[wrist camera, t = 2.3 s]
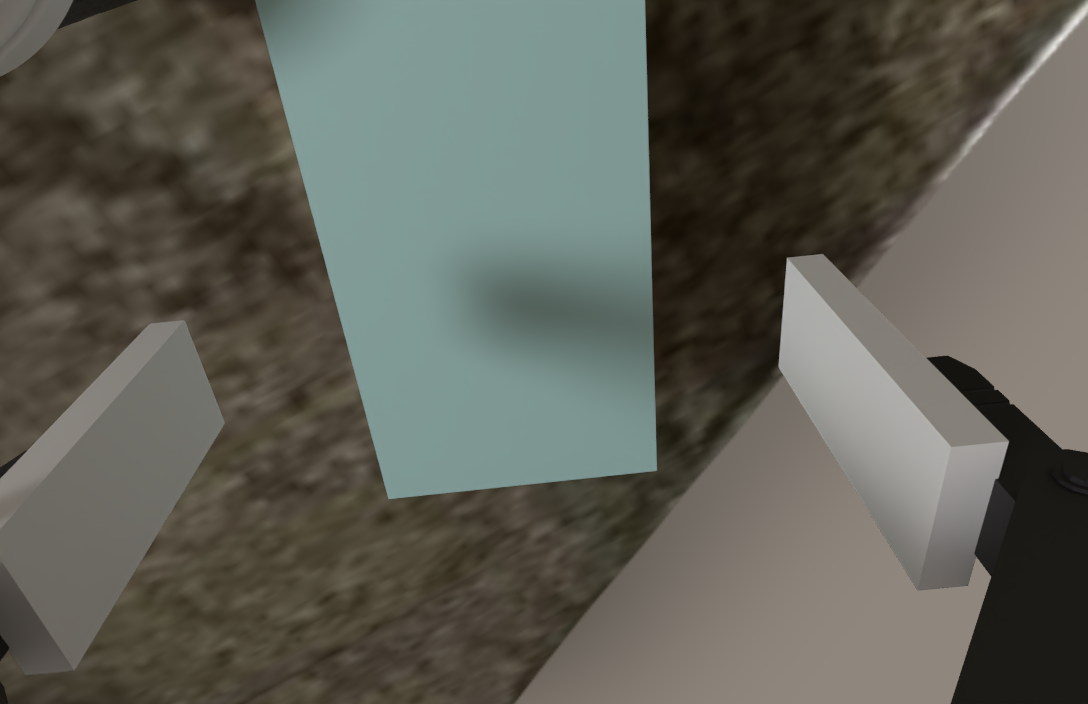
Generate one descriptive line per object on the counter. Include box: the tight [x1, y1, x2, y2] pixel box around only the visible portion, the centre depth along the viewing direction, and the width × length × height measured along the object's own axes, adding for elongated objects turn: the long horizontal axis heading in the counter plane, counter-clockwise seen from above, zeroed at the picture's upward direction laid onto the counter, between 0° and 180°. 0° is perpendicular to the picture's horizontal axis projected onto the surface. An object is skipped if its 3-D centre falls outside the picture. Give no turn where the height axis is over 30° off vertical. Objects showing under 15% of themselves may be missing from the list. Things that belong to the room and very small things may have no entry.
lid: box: [255, 0, 657, 499], centre depth 22 cm, size 10×18×3 cm, turn 6°
